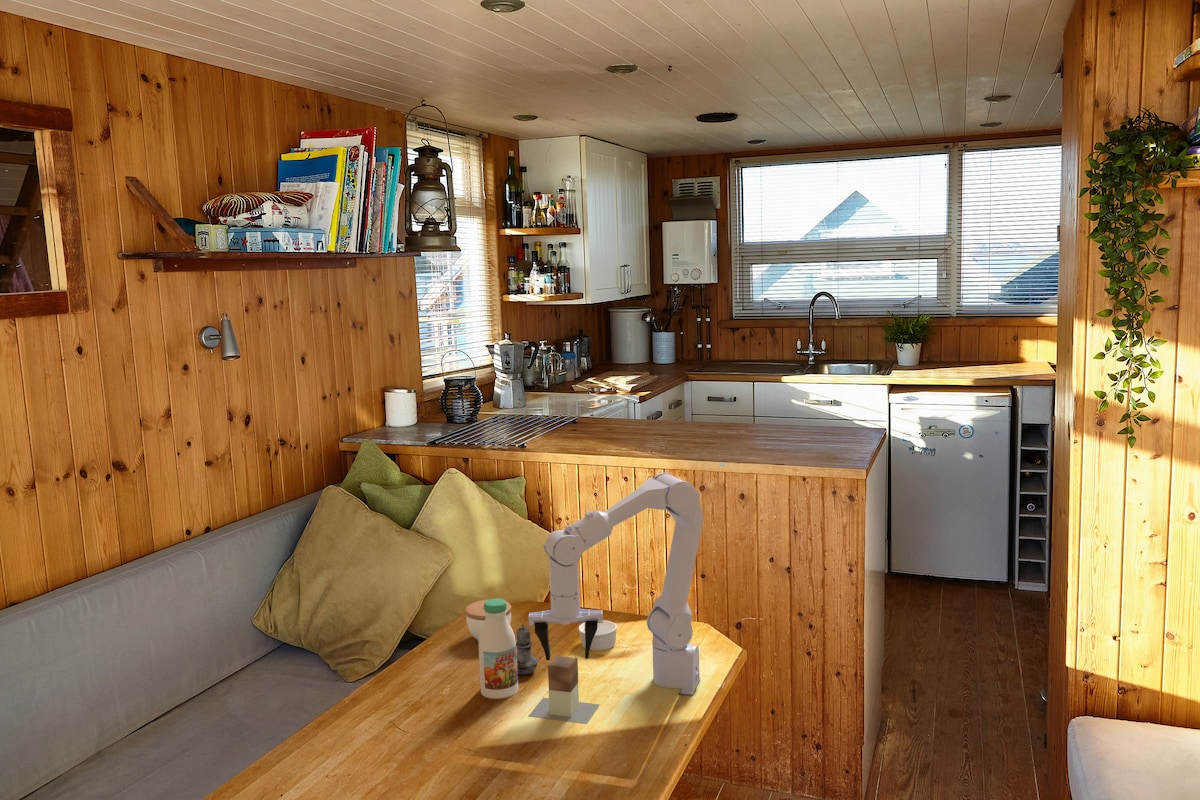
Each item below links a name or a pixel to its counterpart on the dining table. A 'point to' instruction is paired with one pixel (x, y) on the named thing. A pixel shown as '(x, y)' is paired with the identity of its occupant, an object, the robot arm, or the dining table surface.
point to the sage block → (563, 702)
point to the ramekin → (600, 636)
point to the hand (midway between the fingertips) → (567, 657)
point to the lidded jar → (480, 617)
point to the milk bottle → (497, 653)
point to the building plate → (579, 716)
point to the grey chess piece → (525, 652)
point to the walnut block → (563, 673)
